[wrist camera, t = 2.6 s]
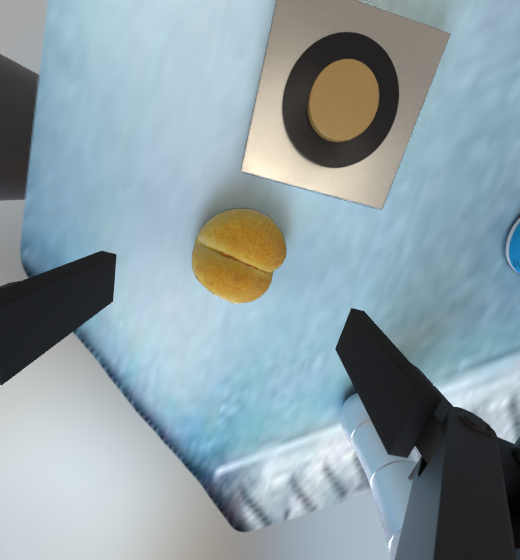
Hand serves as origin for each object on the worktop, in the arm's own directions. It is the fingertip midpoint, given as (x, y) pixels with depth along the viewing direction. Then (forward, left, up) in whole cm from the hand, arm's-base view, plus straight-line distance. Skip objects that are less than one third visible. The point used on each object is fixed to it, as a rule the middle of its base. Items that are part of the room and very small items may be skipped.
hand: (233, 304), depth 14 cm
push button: (+5, +14, -12) cm, 19 cm away
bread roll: (0, 0, -12) cm, 12 cm away
